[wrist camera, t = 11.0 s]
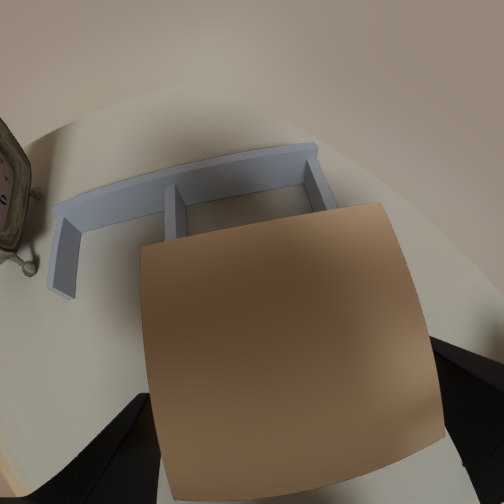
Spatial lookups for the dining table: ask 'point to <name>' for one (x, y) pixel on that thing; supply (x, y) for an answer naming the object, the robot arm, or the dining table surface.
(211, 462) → the oak block
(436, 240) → the dining table surface
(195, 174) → the shelf
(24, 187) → the tabletop clock
